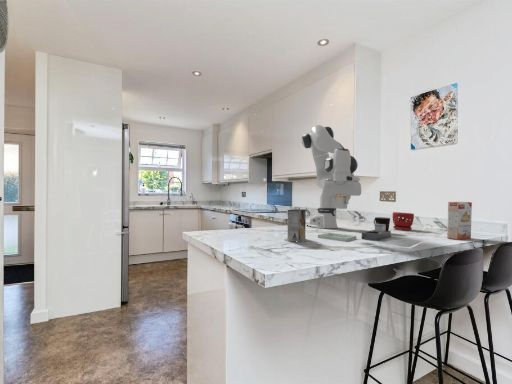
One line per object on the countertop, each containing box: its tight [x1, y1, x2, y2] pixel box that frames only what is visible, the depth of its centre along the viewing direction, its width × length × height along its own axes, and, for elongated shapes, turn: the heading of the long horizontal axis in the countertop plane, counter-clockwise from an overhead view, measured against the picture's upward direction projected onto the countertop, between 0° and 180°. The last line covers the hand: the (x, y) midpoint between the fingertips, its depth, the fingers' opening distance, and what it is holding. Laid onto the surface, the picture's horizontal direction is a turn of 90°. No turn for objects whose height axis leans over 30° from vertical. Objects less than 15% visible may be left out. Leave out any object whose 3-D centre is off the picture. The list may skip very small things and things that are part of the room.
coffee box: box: [287, 208, 307, 243], centre depth 141 cm, size 9×6×16 cm
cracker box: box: [446, 201, 473, 241], centre depth 155 cm, size 14×6×21 cm, turn 117°
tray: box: [317, 232, 357, 242], centre depth 147 cm, size 16×12×2 cm
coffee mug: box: [373, 216, 391, 231], centre depth 171 cm, size 12×9×10 cm
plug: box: [336, 195, 348, 210], centre depth 147 cm, size 4×5×7 cm
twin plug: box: [374, 223, 386, 232], centre depth 153 cm, size 4×5×7 cm
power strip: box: [361, 229, 392, 242], centre depth 150 cm, size 8×20×4 cm, turn 135°
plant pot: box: [392, 211, 415, 231], centre depth 191 cm, size 13×13×12 cm
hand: (341, 203), depth 147 cm, fingers closed on plug, 4 cm apart
